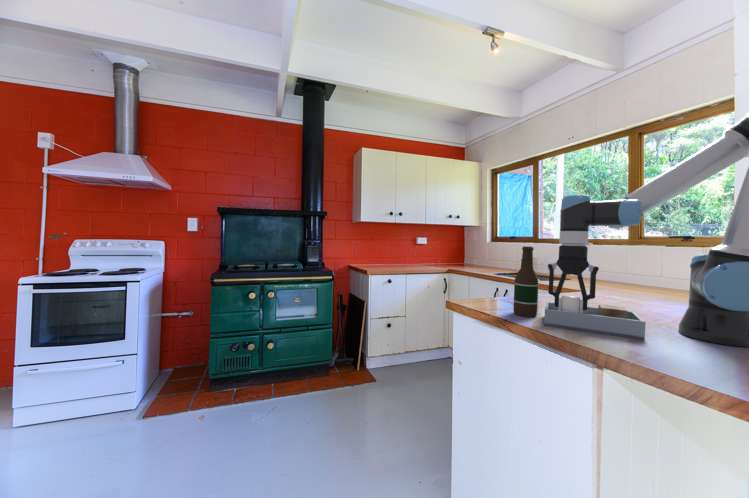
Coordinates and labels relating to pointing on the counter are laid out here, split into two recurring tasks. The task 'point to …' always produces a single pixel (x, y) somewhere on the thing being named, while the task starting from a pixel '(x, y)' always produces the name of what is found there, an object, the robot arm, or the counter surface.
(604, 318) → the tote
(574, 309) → the ceramic canister
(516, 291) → the beer bottle
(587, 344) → the counter surface
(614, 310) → the walnut cube
